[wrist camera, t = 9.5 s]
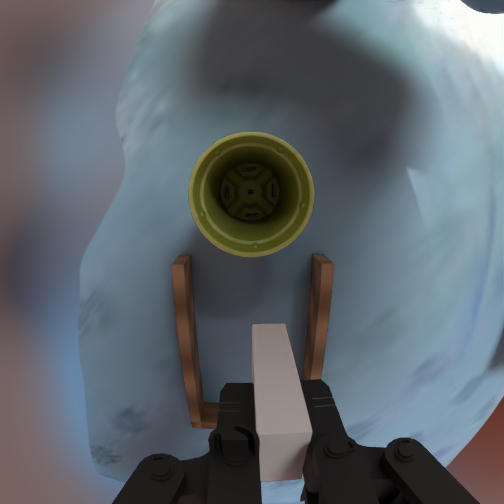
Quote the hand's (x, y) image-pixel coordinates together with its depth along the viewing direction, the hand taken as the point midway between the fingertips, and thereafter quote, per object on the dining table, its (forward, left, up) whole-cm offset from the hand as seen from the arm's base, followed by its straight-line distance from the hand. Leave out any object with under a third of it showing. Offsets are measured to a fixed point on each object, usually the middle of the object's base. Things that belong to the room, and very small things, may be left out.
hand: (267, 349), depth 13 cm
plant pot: (-7, 0, -19) cm, 20 cm away
